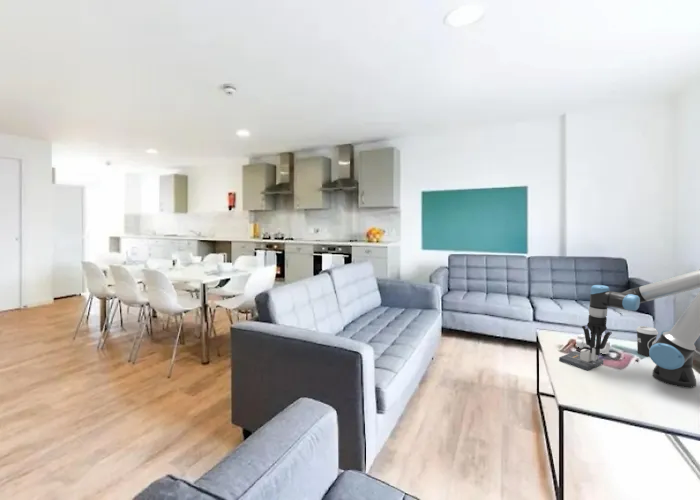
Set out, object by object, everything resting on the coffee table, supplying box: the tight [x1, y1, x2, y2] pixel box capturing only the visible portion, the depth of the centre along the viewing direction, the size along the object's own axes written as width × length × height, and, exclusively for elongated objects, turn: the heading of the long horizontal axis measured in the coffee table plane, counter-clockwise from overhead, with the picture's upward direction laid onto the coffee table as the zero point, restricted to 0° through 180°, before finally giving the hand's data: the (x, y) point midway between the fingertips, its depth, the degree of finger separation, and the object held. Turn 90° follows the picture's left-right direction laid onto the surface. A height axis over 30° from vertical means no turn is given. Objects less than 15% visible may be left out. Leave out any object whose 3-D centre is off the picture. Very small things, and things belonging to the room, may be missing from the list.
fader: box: [579, 348, 592, 362], centre depth 183 cm, size 4×4×5 cm
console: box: [558, 351, 604, 372], centre depth 185 cm, size 14×16×4 cm
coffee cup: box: [635, 325, 659, 357], centre depth 195 cm, size 10×10×15 cm
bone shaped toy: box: [575, 333, 611, 355], centre depth 201 cm, size 15×9×8 cm, turn 35°
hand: (594, 359), depth 180 cm, fingers closed
